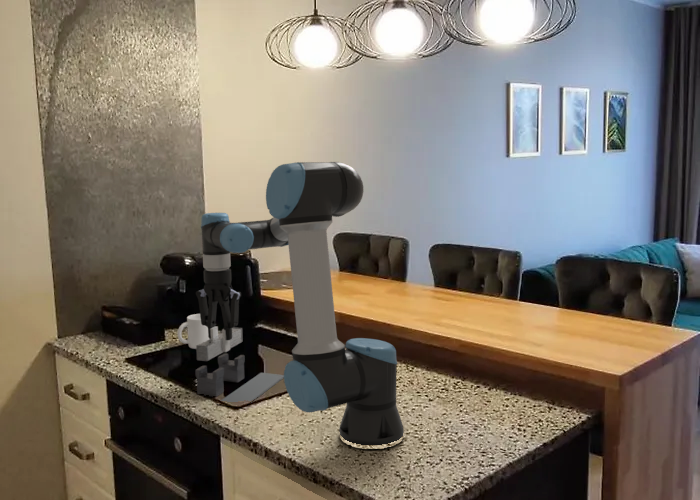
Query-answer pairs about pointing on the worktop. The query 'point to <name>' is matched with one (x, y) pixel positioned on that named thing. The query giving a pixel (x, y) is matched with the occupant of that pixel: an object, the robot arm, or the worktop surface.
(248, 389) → the mat
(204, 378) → the post
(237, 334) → the rail
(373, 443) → the robot arm
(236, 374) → the post
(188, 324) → the mug
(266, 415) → the worktop surface
